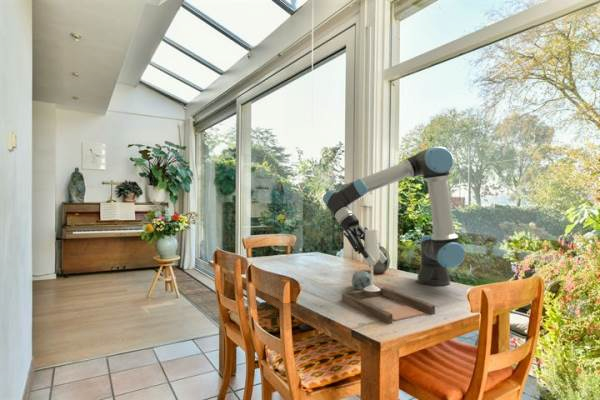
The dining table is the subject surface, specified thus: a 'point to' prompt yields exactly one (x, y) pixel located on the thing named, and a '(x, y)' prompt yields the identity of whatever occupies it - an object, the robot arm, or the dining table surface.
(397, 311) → the front tile
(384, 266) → the decorative egg
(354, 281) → the mottled grey rounded block
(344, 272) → the dining table surface
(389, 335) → the dining table surface
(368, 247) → the champagne flute
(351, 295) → the bay
